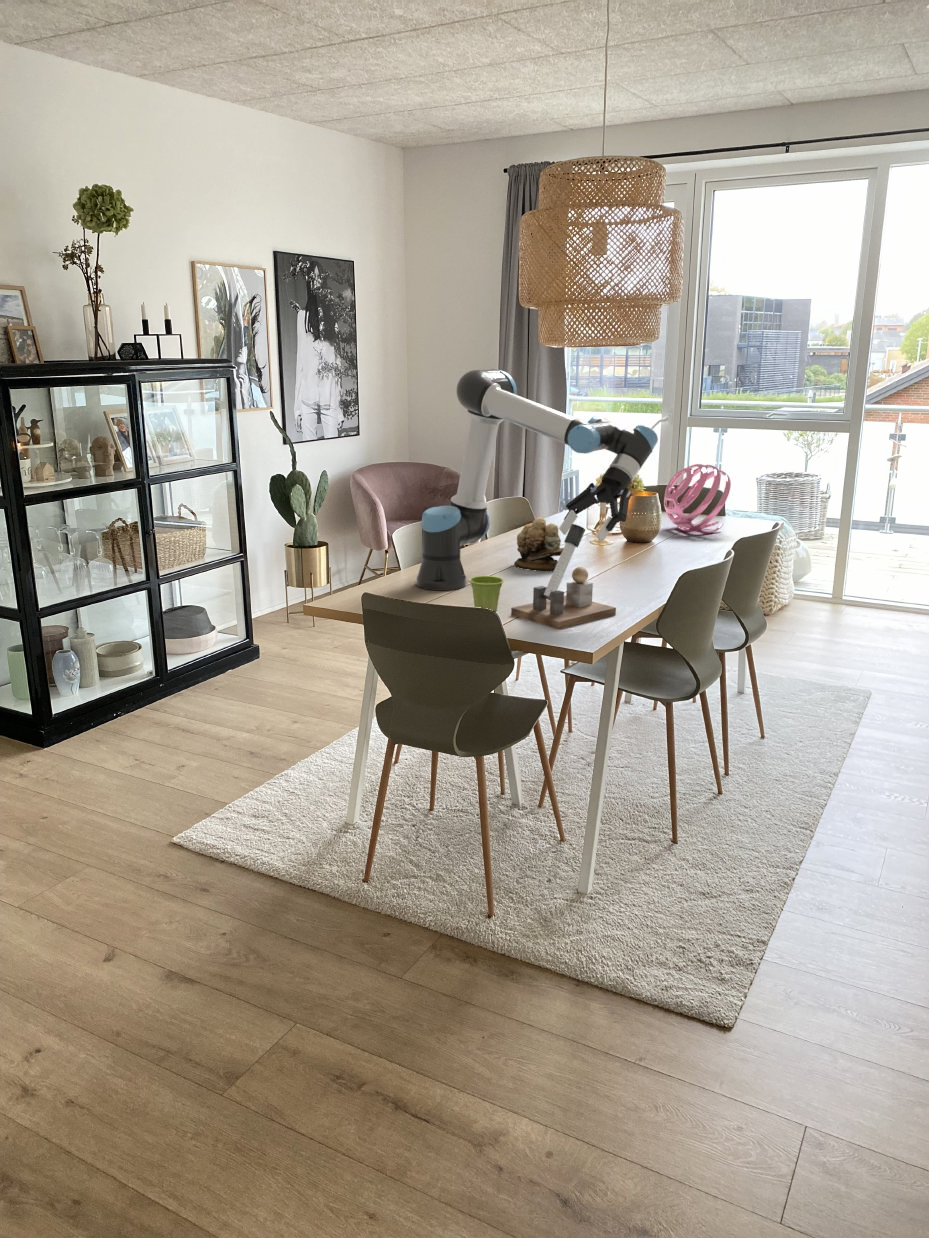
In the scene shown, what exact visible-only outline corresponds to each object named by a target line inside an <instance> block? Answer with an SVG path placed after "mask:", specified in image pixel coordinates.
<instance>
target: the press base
mask: <svg viewBox="0 0 929 1238" xmlns="http://www.w3.org/2000/svg"><path fill="white" fill-rule="evenodd" d="M593 586H594V583H593V582H589V581H587V580H586V581H585V582H583V583H577V582H575V581H574V580H572V581H567V582H566V593H565V591H562V590H558V589H557V591H553V592H551V593H550V600H548V599H544V598H542V594H543V593H545V590H546V588H547V586H543V585H540V586H535V587H533V588H532V589H533V591H532V592H533V595H532V596H533V597H532V599H533V600H532V602H531V603H526V604H523V605H522V604H521V605H518V606H513V607H511V609H510V610H511V612H510V614H511V616H512V617H513V616H514V617H518V618H521V619H524V620H527V621H530V622H534V623H537V624H541V625H543V626H547V627H550V628H554V629H557V630H562V629H565V628H568V627H573V626H577V625H581V624H585V623H589V622H593V621H597V620H600V619H605V618H607V617H613V616H616V615H617V614H616V613H617V607H616V606H611V605H609V604H604V603H600V602H595V601H593V591H594V590H593ZM565 594H566V595H565Z"/></svg>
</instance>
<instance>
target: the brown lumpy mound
mask: <svg viewBox="0 0 929 1238" xmlns="http://www.w3.org/2000/svg"><path fill="white" fill-rule="evenodd" d="M546 522H547V521H546V519H545V518H544V517H542V516H538V517H536V518H534V520H533V521H531V523H526V524H525V525H524V527H523V528H522V530H521V531H520V532H519V533H518V534H517V535H516V545H517V549H516V550H517V551H518V553H519V555H520V557H519V558H517V560H516V561H514V562H513V566H514V565H515V566H516V567H515V566H514V567H515V568H517V567H519V568H518V569H521V568H522V569H521V570H525V569H529V570H528V571H533V570H536V571H535V572H554V569H555V567H556V565H557V563H558V559H554V557H560V556H561V553H562V551H563V549H564V547H560V546H561V542H562V540H561V538H560V535H559V533H560V532H559V526H558V525H557V524H555V523H549V524H546Z"/></svg>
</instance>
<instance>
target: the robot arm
mask: <svg viewBox="0 0 929 1238" xmlns="http://www.w3.org/2000/svg"><path fill="white" fill-rule="evenodd" d="M517 392H518V390H517V384H516V382H515V380H514V379H513V377H512V375H510V374H509V373H508V372H506V371H504V370H500V369H495V368H491V369H490V368H489V369H473V370H469V371H468V372H466V373H464V374H463V375H462V376H461V377H460V379H459V380H458V383H457V384H456V397H457V400H458V402H459V403H460V405H461V407H464V408H465V409H467V414H468V415H469V417H470V421H469V423H470V424H469V429H468V434H467V438H466V444H465V450H464V454H463V461H462V464H461V470H460V475H459V480H458V486H457V491H456V494H455V495H453V496H452V497H451V498H450V502H449V505H439V506H433V507H429V508H428V509H426V510H424V511H423V513H422V516H421V517H422V518H421V553H422V554H421V555H422V558H421V559H422V560H421V563H420V566H419V570H418V574H417V576H416V585H417V587H418V588H421V589H423V590H424V589H425V590H433V591H452V590H457V589H462V588H465V586H467V578H466V577H467V576H466V573H465V571H464V566H463V563H462V560H461V546H464V545H468V544H473V543H476V542H477V541H479V540H481V539H482V538H483V537H485V536H486V534H487V533H488V531H489V529H490V525H491V523H490V522H491V520H490V515H489V513H488V511H487V510H488V504H487V502H486V501H485V495H486V490H487V486H488V480H489V476H490V471H491V465H492V461H493V456H494V450H495V446H496V441H497V435H498V431H499V426H500V424H501V423H502V422H503V421H507V422H509V423H511V424H514V425H517V426H519V427H521V428H524V429H526V430H529V431H531V432H534V433H536V434H539V435H542V436H544V437H547V438H549V439H552V440H554V441H556V442H560V443H561V444H565V445H567V446H569V448H570V449H571V450H572V451H573V452H575V453H577V454H590V453H593V452H597V451H601V450H606V451H608V452H610V453H614V454H615V457H614V458H613V460H612V461H611V463H610V465H609V467H608V468H607V469H606V471H605V472H604V474H603V475H602V478H601V482H600V483H599V484H598V485H596V484H595V483H594V482H591V483H589V484H588V486H587V487H586V488H585V489H584V490H583V491H581V492H580V493H579V494H578V495H576V496H575V497H574V498H573V499H571V501H569V502H568V503H567V504H566V505H565V507H566V510H568V512H567V513H566V515H565V516H564V518H563V522H562V523H561V524H560V526H558V530H560V532H561V533H562V534H563V535H566V536H567V534H568V532H569V529H570V527H571V525H572V524H575V521H576V520H577V518H578V514H579V513H581V512H583V511H584V510H585V511H586V509H589V508H590V507H592V506H594V505H595V504H596V505H597V504H599V503H600V504H601V503H602V504H608V505H609V507H610V513H611V514H610V516H607V517H606V519H605V521H604V522H603V524H602V525H601V527H600V528H599V530H598V531H597V533H596V535H595V537H596V538H597V539H598V541H599V542H600V543H603V542H604V541H605V540H606V538H607V536H608V535H609V533H610V532H612V531H613V530H614V528H615V527H616V525H617V524H618V523H619V522H623V523H625V522H626V521H627V517H628V511H629V509H628V508H629V502H630V499H631V497H632V496H633V495H632V493H631V491H630V490H629V487H630V486H631V484H632V482H633V481H634V479H635V478H636V477H637V475H638V473H639V471H640V470H641V469H642V467H643V465H644V464H645V463H646V461H647V460H648V458H649V456H650V455H651V454H652V453H653V450H654V449H655V447H656V445H657V444H658V440H659V439H658V435H657V433H656V431H655V429H653V428H651V427H650V426H648V425H645V424H638V425H636V426H635V427H634V428H633V429H630V428H626V427H624V426H622V425H619V424H617V423H614V422H612V421H610V420H608V419H607V418H602V417H599V416H592V417H591V418H590V419H589V420H588V421H585V420H582V419H579V418H577V417H574V416H572V415H569V414H566V413H564V412H561V411H559V410H556V409H553V408H551V407H548V406H545V405H543V404H541V403H538V402H535V401H533V400H531V399H528V398H525V397H522V396H520V395H518V393H517ZM618 499H620V500H619V503H618ZM618 506H619V507H618Z"/></svg>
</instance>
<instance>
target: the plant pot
mask: <svg viewBox="0 0 929 1238" xmlns="http://www.w3.org/2000/svg"><path fill="white" fill-rule="evenodd" d="M469 582H470V584H471V585H470V586H471V588H472V595H473V602H474V608H475V607H481V608H488V609H491V610H493V612H496V611H497V610H498V606H499V599H500V592H501V588H502V585H503V583H504V578H501V577H498V576H492V575H479V576H473V577H470V578H469Z"/></svg>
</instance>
